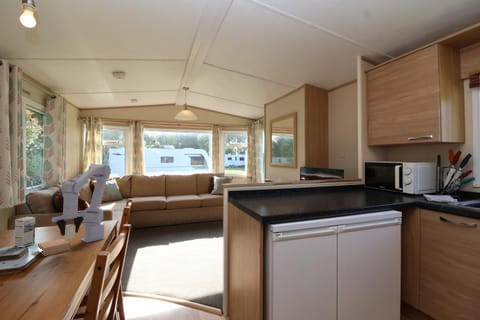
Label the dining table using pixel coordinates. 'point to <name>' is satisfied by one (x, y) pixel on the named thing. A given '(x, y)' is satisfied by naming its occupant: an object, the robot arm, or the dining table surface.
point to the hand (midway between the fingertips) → (69, 233)
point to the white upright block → (69, 231)
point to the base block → (54, 246)
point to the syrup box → (24, 231)
